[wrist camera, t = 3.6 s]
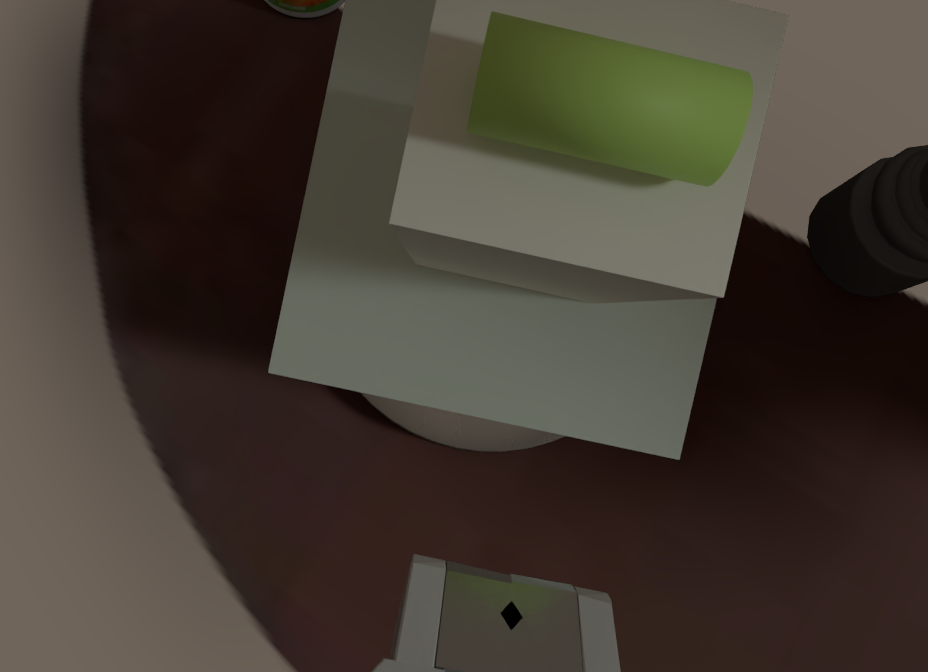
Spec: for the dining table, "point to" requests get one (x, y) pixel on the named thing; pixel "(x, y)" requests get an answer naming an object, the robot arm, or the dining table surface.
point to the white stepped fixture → (529, 208)
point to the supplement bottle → (305, 7)
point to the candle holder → (875, 227)
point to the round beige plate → (459, 427)
